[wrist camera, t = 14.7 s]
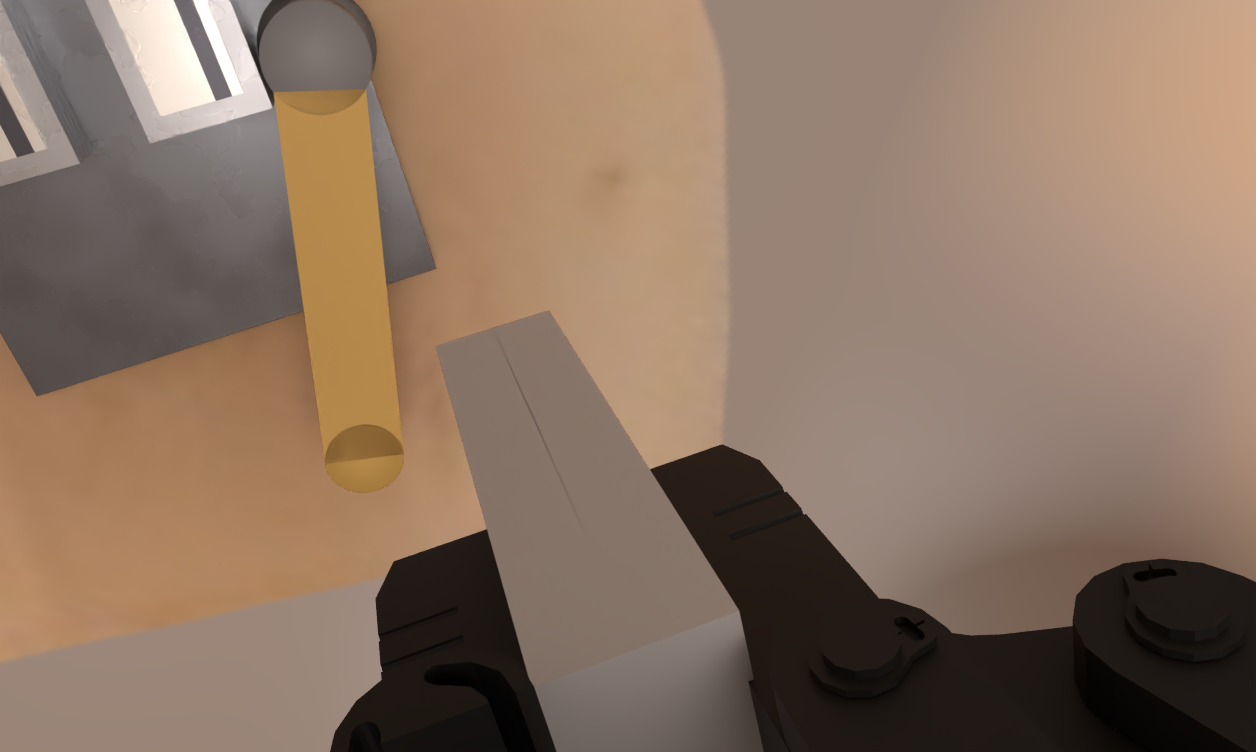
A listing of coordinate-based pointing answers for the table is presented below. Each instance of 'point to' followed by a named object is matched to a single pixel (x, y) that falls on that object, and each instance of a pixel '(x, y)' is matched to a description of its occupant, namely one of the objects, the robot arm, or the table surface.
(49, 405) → the table surface
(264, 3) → the chassis plate
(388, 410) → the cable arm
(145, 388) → the table surface
